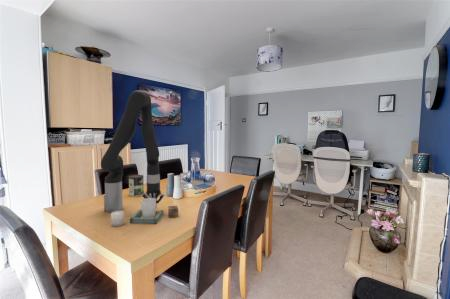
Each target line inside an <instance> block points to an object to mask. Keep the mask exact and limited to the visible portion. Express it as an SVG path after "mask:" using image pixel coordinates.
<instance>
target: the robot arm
mask: <svg viewBox="0 0 450 299" xmlns="http://www.w3.org/2000/svg"><path fill="white" fill-rule="evenodd" d="M139 113H140V116H141V125H140V130H141V137H142V140H143V143H144V147H145V155H146V163H147V164H146V192H145V193H144V195H142V197H143V199H145V198H155V199H156V209H157V204H159V203H160V202H161V201H162V199H163V198H164V197H165V194H163V192H162V190H161V174H160V164H159V159H160V158H159V157H160V150H159V147H158V146H159V145H158V143H157V138H156V133H155V132H156V131H155V128H154V121H153V114H152V113H153V112H152V99H151V95H150V94H149V93H148V92H147V91H143V90H139V89H137V90H134V91H132V92H131V93H130V95H129V96H128V100H127V102H126V106H125V110H124V113H123V114H122V117H121V119H120V122H119V123H118V125H117V128H116V130H115V132H114V135H113V137H112V139H111V142H110V143H109V146H108V148H107V149H106V151H105V153H104V155H103V156H102V159H101V161H100V168H101V170H102V171H104V172H106V173H107V172H108V174H107V175H106V176H105V177H104V194H103V209H104V211H106V212H107V213H112V212H114V211H122V210H123V208H124V205H123V204H124V202H123V199H124V198H123V177H124V160H123V157H122V156H121V155H120V153H121V152H122V150H124V148H125V147H127V146H128V145H129V143H130V142H131V141H132V138H133V136H134V134H135V132H136V129H137V119H138V115H139Z"/></svg>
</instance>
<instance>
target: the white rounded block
mask: <svg viewBox="0 0 450 299" xmlns="http://www.w3.org/2000/svg"><path fill="white" fill-rule="evenodd" d="M124 224H125V212H124V210H119V211H114V212H110V225H111V227H120V226H122V225H124Z"/></svg>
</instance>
